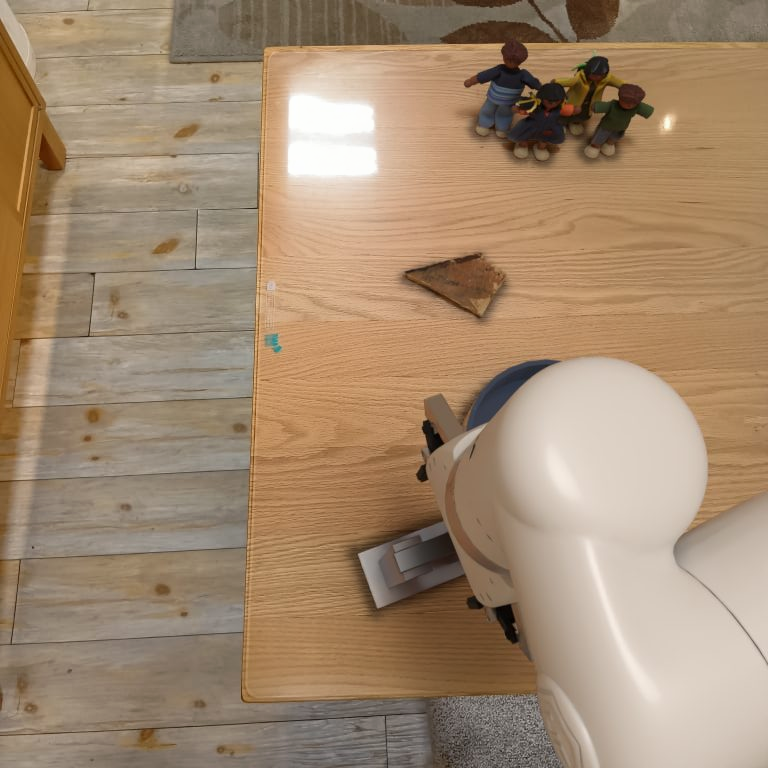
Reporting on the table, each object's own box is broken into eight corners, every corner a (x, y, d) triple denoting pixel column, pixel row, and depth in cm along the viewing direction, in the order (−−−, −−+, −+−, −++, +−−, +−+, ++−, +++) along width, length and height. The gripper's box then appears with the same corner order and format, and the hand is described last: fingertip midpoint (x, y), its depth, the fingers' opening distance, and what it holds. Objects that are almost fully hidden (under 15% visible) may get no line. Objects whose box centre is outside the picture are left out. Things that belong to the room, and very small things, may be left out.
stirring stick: (513, 529, 55) (518, 526, 54) (398, 574, 54) (400, 573, 52) (505, 510, 56) (510, 507, 54) (391, 554, 54) (392, 553, 52)
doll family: (465, 170, 90) (486, 98, 77) (452, 114, 92) (471, 35, 80) (631, 154, 92) (678, 82, 79) (614, 100, 95) (657, 21, 82)
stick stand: (488, 564, 74) (541, 548, 55) (376, 609, 72) (390, 609, 53) (467, 512, 76) (511, 479, 57) (356, 554, 73) (364, 535, 54)
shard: (402, 277, 84) (404, 270, 82) (433, 232, 86) (435, 224, 85) (479, 321, 83) (482, 315, 81) (508, 274, 85) (512, 267, 83)
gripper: (664, 642, 33) (554, 628, 49) (518, 326, 37) (461, 410, 54) (524, 704, 32) (459, 669, 48) (390, 369, 36) (372, 442, 52)
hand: (460, 532), depth 51 cm, fingers open, 9 cm apart
